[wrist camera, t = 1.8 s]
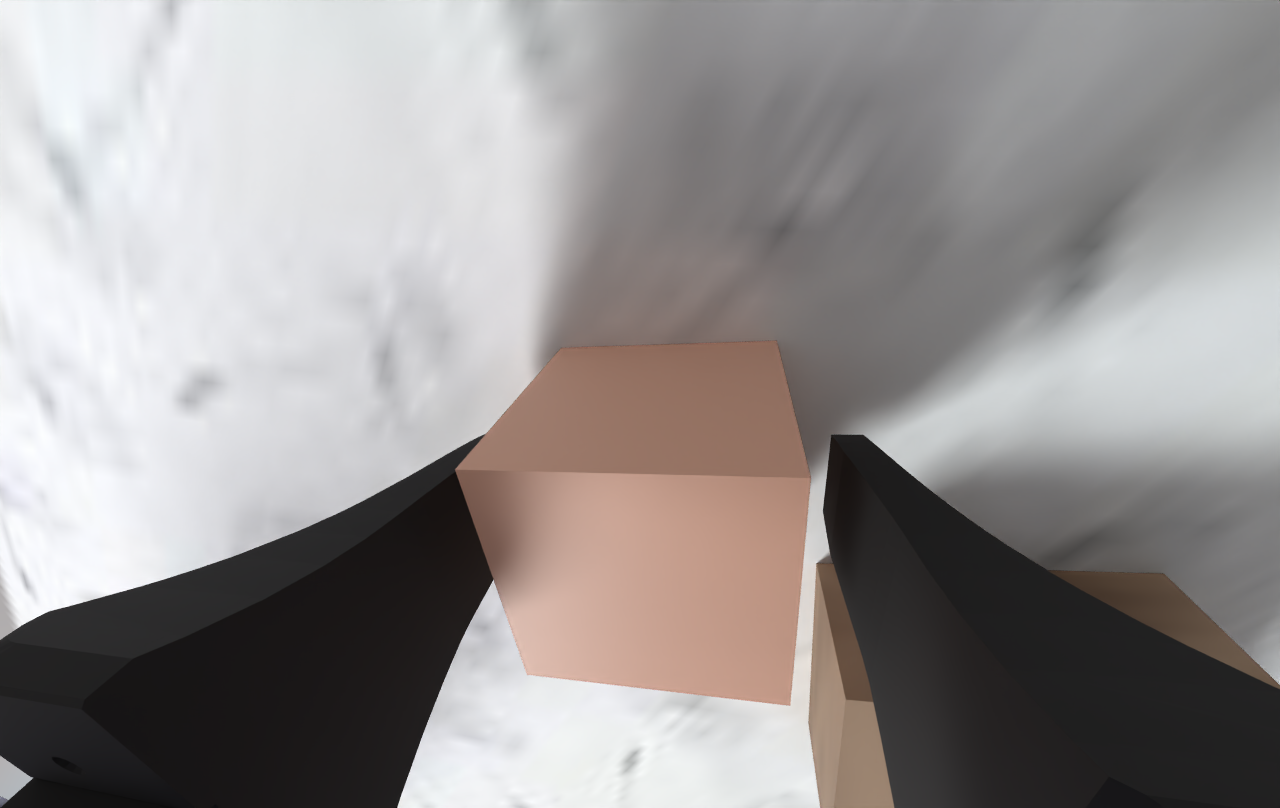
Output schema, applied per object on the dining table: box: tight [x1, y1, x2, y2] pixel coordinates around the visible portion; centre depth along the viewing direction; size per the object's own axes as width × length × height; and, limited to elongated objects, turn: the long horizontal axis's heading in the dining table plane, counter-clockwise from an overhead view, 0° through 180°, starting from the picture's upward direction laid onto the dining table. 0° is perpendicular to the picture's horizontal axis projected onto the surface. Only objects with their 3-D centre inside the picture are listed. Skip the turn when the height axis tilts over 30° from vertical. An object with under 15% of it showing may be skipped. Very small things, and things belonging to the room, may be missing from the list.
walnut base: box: [809, 563, 1280, 808], centre depth 12 cm, size 8×8×4 cm
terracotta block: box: [455, 341, 811, 706], centre depth 10 cm, size 5×5×5 cm
